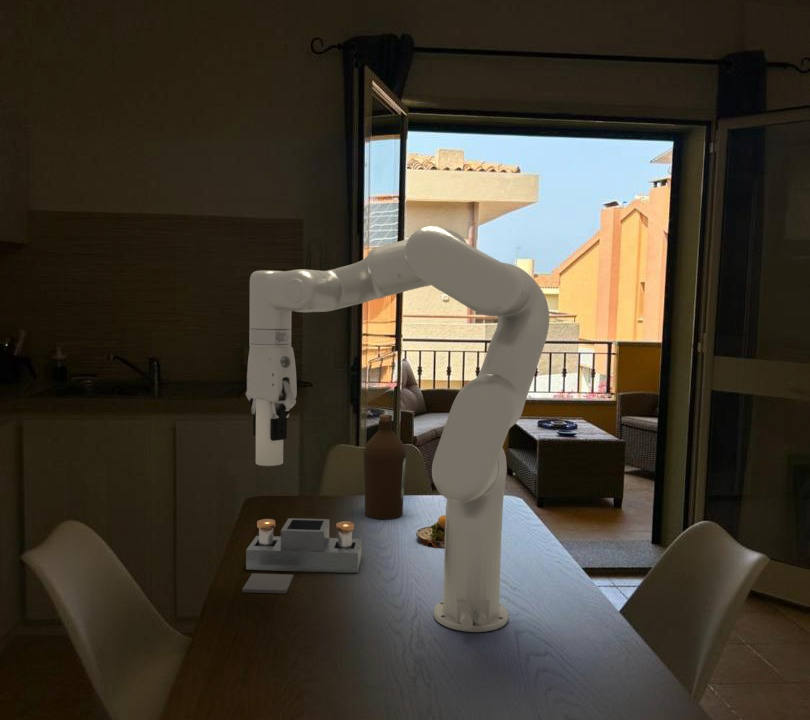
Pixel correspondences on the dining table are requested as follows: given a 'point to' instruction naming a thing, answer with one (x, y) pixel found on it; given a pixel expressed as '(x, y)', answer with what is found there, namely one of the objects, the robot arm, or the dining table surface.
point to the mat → (268, 583)
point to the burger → (433, 534)
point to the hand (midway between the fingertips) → (269, 436)
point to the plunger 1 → (266, 532)
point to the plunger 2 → (345, 534)
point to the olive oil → (384, 472)
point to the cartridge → (266, 436)
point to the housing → (304, 550)
